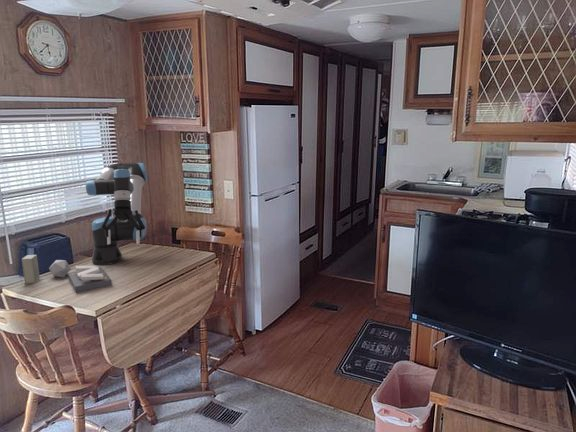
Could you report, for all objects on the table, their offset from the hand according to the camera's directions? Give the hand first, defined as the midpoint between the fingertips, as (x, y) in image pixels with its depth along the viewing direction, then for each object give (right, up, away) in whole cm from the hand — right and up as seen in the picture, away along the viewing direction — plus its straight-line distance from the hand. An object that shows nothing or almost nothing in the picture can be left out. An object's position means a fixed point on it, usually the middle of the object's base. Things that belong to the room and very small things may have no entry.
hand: (123, 244), depth 208 cm
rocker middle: (-14, -13, -6) cm, 20 cm away
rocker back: (-18, -12, 0) cm, 22 cm away
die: (-32, -16, +4) cm, 36 cm away
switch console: (-14, -18, -5) cm, 23 cm away
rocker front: (-10, -15, -11) cm, 21 cm away
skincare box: (-42, -18, -2) cm, 46 cm away
